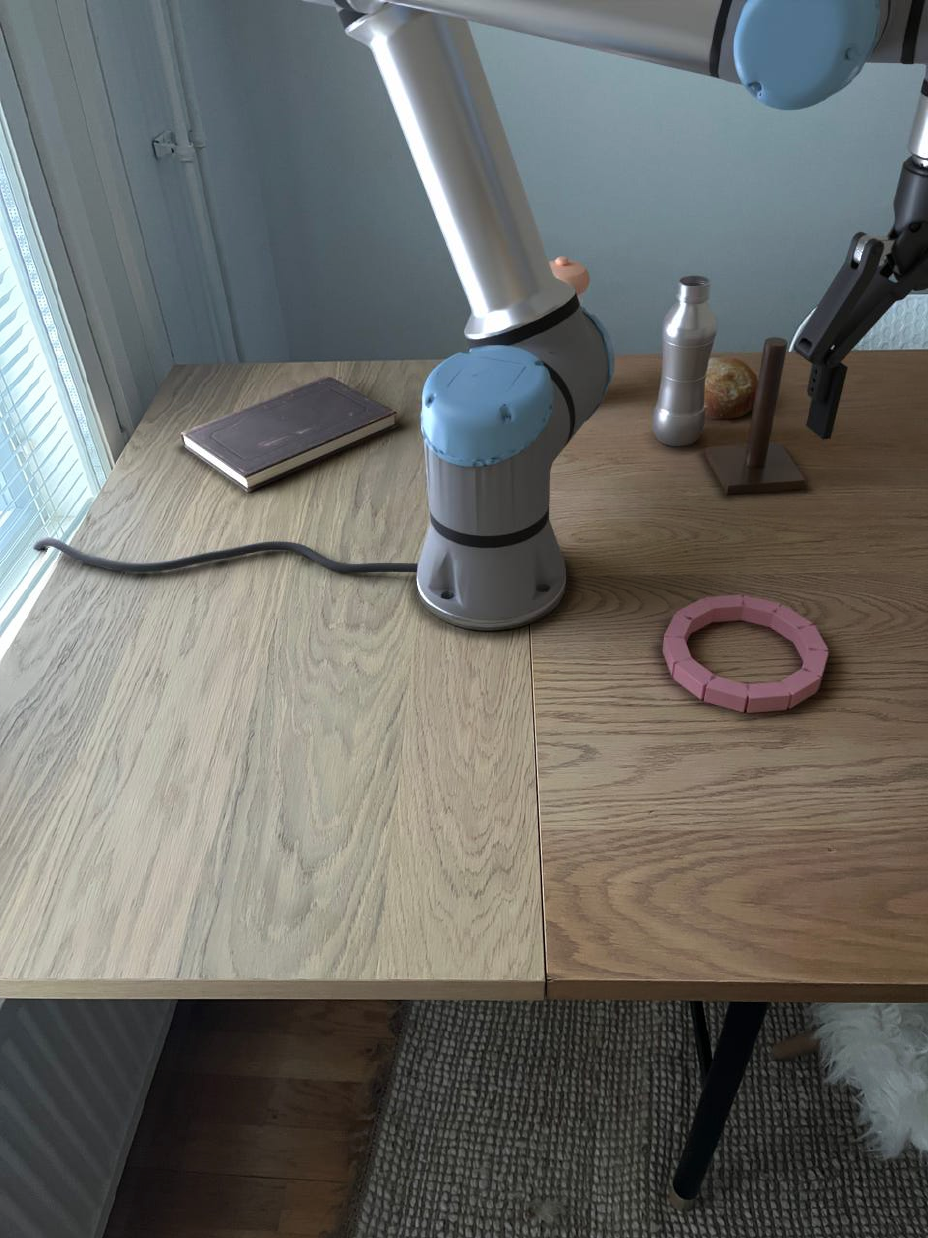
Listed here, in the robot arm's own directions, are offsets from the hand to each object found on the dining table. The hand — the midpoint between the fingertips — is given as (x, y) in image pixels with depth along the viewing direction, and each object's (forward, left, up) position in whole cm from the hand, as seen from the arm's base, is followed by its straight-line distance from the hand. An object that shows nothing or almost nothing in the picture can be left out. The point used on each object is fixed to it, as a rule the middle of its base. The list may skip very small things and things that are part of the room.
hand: (887, 419), depth 83 cm
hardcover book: (-58, +40, -19) cm, 73 cm away
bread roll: (-1, +41, -19) cm, 45 cm away
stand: (-2, +23, -19) cm, 30 cm away
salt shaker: (-22, +45, -19) cm, 53 cm away
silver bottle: (-9, +32, -19) cm, 38 cm away
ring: (-13, -9, -19) cm, 24 cm away
